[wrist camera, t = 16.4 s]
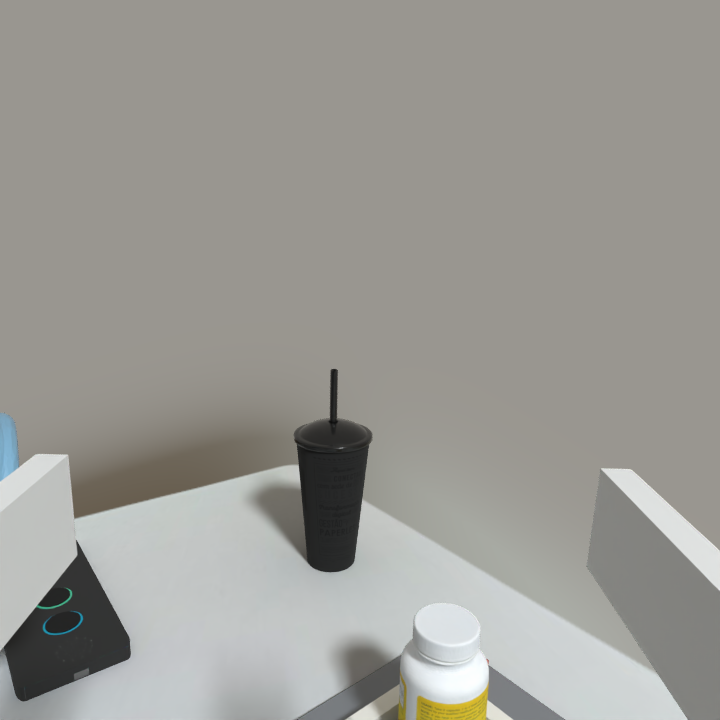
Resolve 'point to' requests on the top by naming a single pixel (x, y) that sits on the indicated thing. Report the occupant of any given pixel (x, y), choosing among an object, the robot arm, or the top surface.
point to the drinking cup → (332, 485)
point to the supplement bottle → (443, 667)
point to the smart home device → (66, 634)
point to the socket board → (381, 699)
